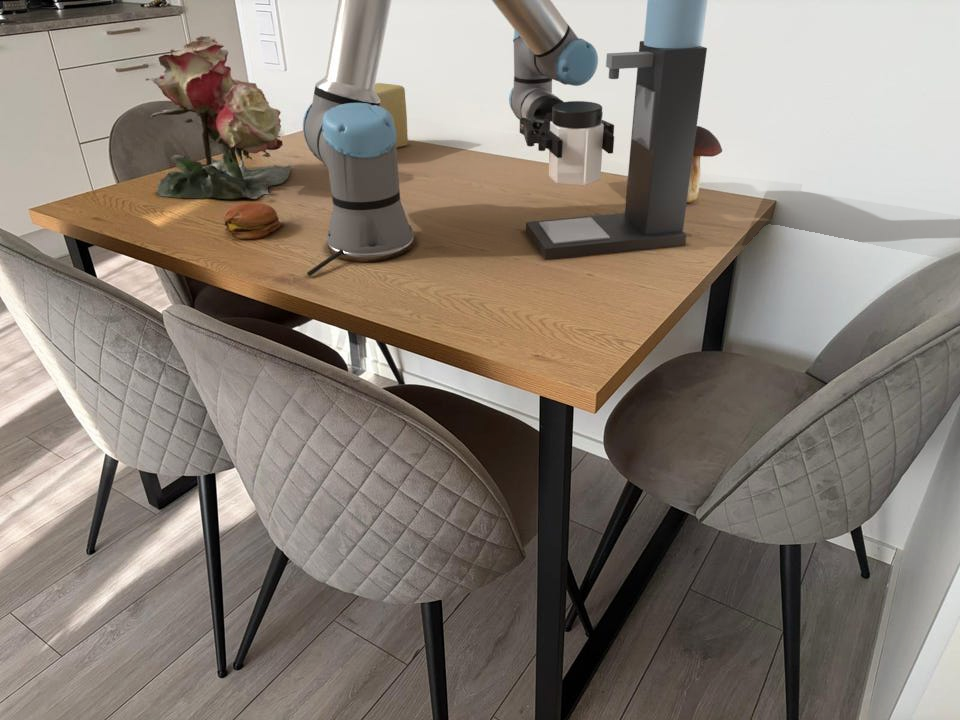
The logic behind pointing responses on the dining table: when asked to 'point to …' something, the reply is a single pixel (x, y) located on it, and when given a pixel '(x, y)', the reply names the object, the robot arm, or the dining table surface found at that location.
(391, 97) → the cheese
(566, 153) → the jar
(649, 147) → the water dispenser
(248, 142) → the rose bouquet
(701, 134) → the decorative mushroom
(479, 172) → the dining table surface
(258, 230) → the burger
